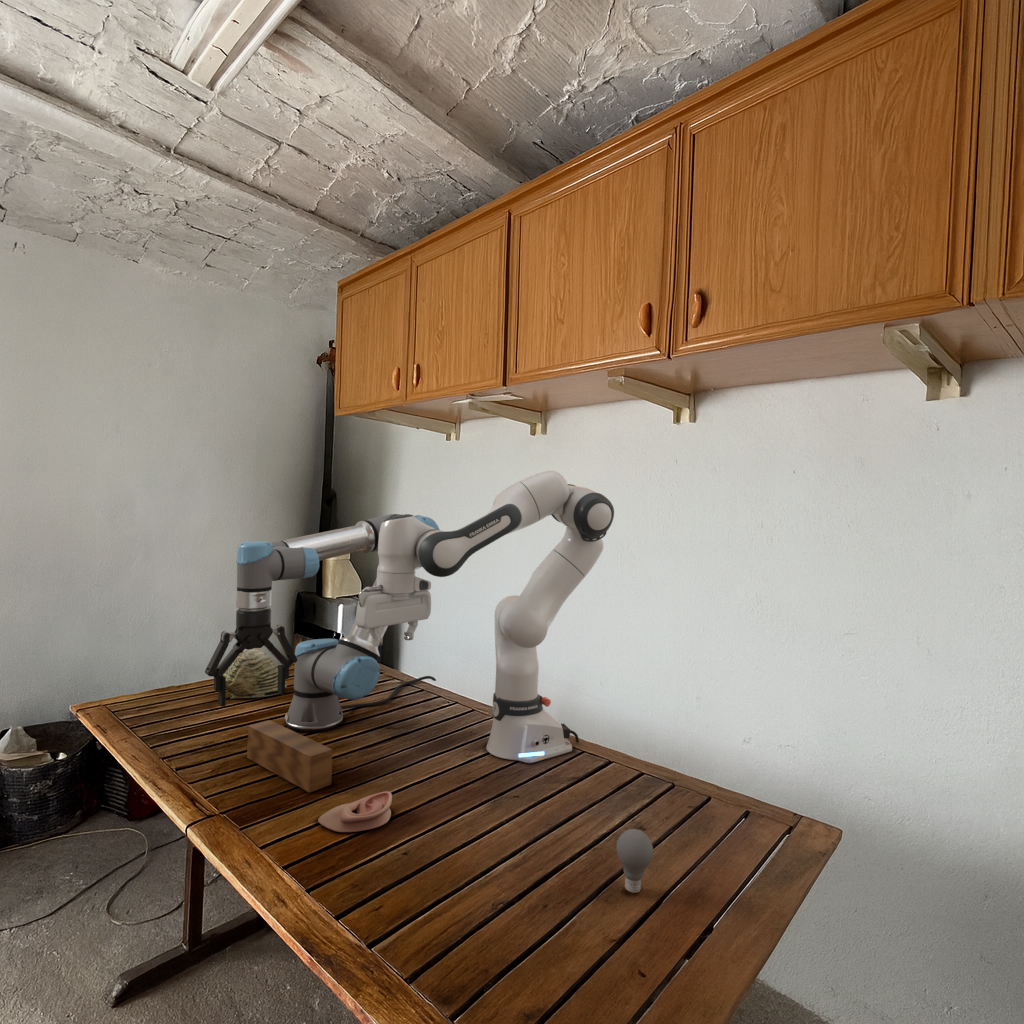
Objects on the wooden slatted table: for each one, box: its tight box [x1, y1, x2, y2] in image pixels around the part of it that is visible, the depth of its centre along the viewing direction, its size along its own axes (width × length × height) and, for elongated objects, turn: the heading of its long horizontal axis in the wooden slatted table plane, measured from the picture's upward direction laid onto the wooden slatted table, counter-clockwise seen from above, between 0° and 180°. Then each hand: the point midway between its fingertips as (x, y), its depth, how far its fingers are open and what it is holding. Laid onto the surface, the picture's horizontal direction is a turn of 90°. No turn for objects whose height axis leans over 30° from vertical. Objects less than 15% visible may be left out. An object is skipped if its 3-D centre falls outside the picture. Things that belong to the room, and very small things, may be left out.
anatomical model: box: [317, 791, 393, 833], centre depth 125 cm, size 13×4×12 cm
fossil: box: [223, 648, 288, 699], centre depth 198 cm, size 9×18×15 cm, turn 132°
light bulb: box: [615, 828, 654, 894], centre depth 106 cm, size 6×6×10 cm
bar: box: [246, 719, 333, 794], centre depth 146 cm, size 26×6×8 cm, turn 51°
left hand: (252, 699), depth 147 cm, fingers open, 13 cm apart
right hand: (393, 642), depth 148 cm, fingers open, 8 cm apart
